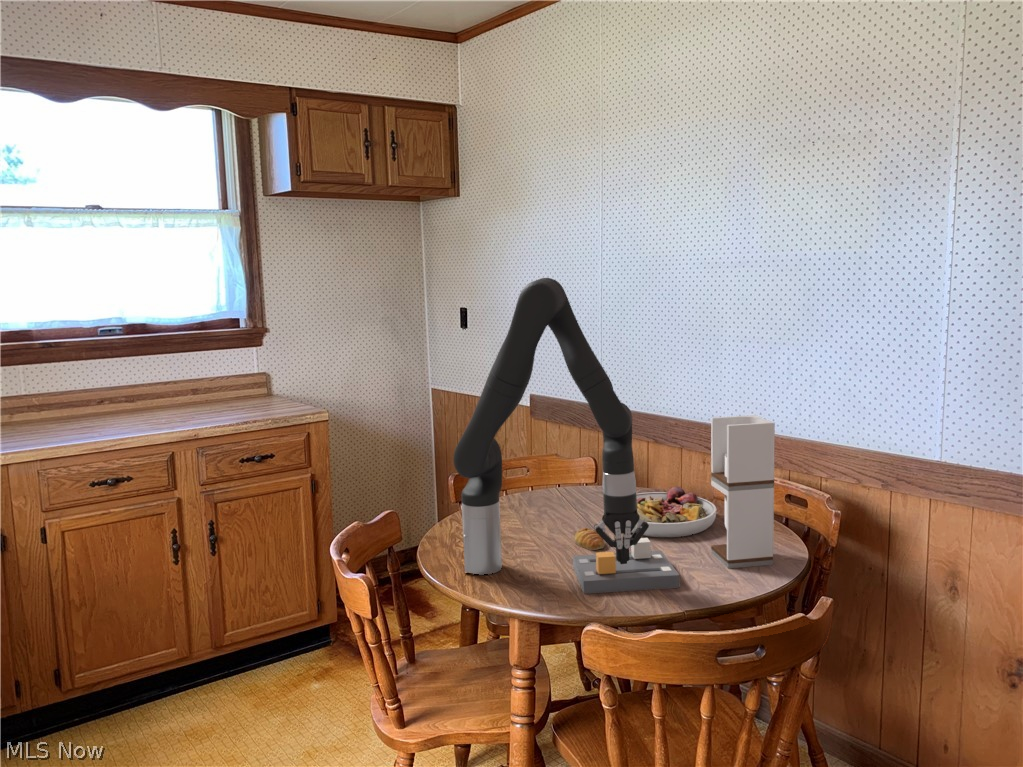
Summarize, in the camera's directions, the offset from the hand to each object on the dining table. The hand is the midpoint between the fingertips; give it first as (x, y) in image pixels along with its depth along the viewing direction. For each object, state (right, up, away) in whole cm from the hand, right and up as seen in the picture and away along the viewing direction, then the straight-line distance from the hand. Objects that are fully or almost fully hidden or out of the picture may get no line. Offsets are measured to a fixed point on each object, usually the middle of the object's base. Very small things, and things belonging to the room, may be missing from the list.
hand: (623, 562), depth 182 cm
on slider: (+5, 0, +8) cm, 10 cm away
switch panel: (+1, -5, +5) cm, 7 cm away
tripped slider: (-4, -2, 0) cm, 4 cm away
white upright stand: (+31, -2, +14) cm, 34 cm away
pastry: (-5, -2, +28) cm, 28 cm away
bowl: (+17, +1, +43) cm, 47 cm away
